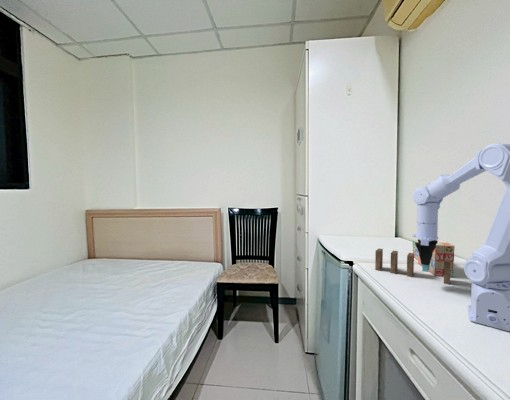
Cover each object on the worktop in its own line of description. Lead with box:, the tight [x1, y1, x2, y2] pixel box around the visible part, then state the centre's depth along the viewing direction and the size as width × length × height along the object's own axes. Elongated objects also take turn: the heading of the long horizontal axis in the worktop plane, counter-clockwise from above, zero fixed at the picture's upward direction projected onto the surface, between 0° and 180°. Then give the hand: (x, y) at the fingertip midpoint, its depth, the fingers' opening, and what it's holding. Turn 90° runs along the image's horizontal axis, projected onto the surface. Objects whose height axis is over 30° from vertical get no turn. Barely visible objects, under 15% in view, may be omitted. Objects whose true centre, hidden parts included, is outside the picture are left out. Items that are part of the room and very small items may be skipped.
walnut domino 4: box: [443, 258, 451, 285], centre depth 84 cm, size 2×5×8 cm, turn 140°
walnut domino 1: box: [374, 248, 384, 272], centre depth 98 cm, size 2×5×8 cm, turn 140°
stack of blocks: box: [412, 238, 455, 278], centre depth 99 cm, size 21×6×12 cm, turn 166°
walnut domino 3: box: [406, 252, 415, 278], centre depth 91 cm, size 2×5×8 cm, turn 140°
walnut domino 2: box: [390, 250, 399, 275], centre depth 94 cm, size 2×5×8 cm, turn 140°
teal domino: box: [421, 264, 430, 273], centre depth 80 cm, size 2×5×8 cm, turn 140°
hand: (426, 262), depth 80 cm, fingers closed on teal domino, 5 cm apart
